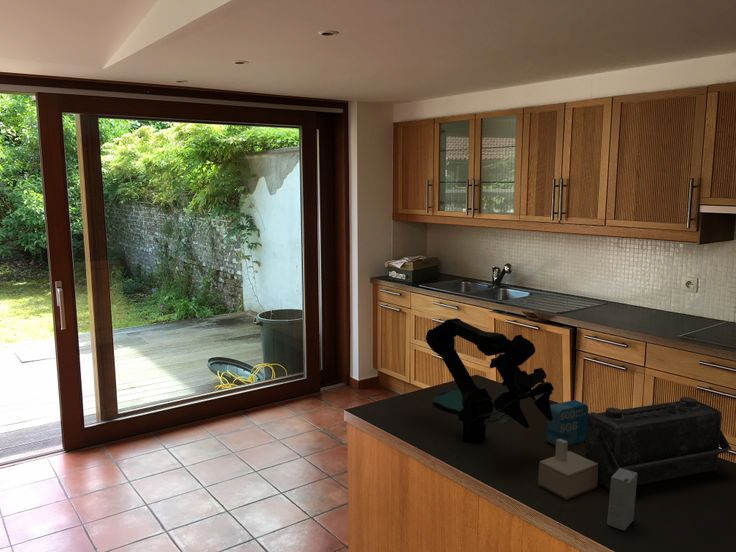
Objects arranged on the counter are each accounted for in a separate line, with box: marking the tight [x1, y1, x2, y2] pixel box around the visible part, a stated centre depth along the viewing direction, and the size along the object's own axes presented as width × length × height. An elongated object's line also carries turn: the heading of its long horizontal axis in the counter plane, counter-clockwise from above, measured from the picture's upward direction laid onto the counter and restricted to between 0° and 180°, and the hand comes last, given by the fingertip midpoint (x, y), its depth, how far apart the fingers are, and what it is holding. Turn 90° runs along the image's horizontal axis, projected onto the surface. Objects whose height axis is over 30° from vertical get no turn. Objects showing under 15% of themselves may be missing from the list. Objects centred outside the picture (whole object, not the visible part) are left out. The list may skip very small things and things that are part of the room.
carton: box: [537, 463, 598, 501], centre depth 159 cm, size 9×12×6 cm
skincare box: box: [606, 468, 638, 531], centre depth 141 cm, size 6×4×12 cm
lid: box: [539, 439, 598, 477], centre depth 158 cm, size 9×12×6 cm
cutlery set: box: [432, 389, 513, 426], centre depth 214 cm, size 20×30×2 cm, turn 42°
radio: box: [584, 396, 732, 491], centre depth 164 cm, size 38×14×20 cm, turn 109°
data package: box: [546, 399, 589, 447], centre depth 186 cm, size 12×4×12 cm, turn 116°
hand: (539, 423), depth 166 cm, fingers open, 9 cm apart
